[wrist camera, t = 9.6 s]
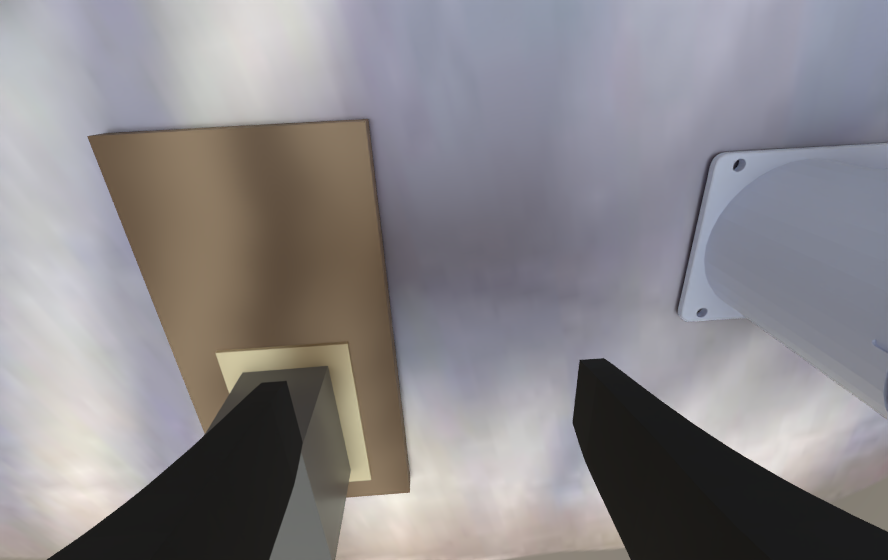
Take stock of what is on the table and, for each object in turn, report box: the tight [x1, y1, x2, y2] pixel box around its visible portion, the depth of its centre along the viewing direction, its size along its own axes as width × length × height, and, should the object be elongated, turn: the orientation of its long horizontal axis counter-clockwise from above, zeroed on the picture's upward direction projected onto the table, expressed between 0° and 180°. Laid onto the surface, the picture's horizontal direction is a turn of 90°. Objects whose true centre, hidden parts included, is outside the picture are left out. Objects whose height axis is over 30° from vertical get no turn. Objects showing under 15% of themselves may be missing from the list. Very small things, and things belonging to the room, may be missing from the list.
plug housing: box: [205, 366, 351, 560], centre depth 19 cm, size 4×7×5 cm, turn 3°
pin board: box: [87, 119, 410, 497], centre depth 19 cm, size 10×20×3 cm, turn 3°
